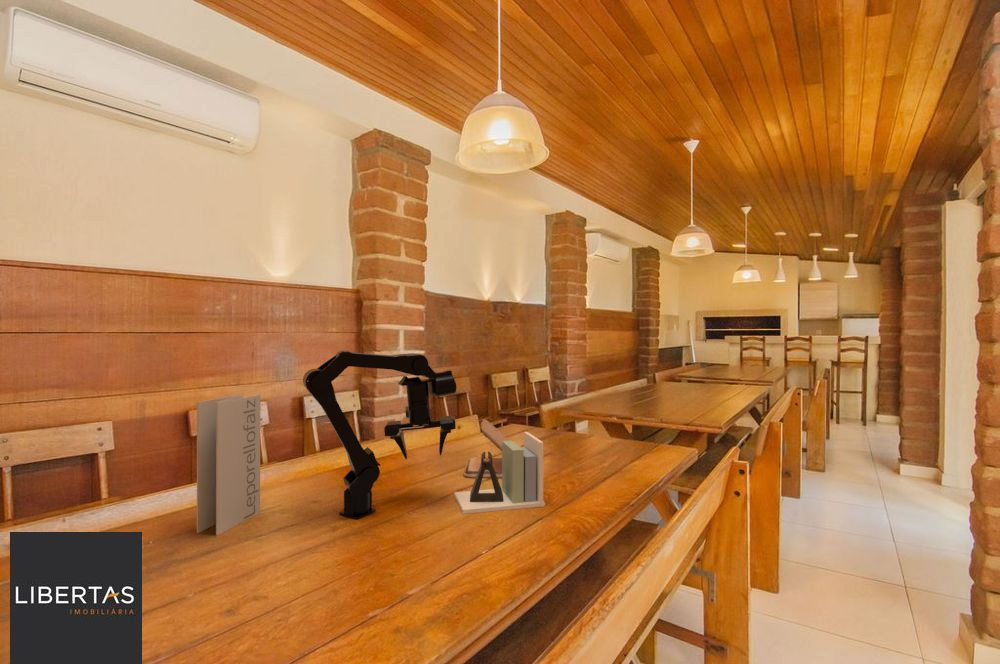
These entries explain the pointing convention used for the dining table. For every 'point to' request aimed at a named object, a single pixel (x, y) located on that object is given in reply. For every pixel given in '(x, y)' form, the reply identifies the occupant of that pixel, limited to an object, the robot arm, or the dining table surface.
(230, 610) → the dining table surface
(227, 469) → the brochure
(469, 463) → the case
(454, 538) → the dining table surface
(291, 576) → the dining table surface
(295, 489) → the dining table surface
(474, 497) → the phone stand
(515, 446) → the bookshelf
